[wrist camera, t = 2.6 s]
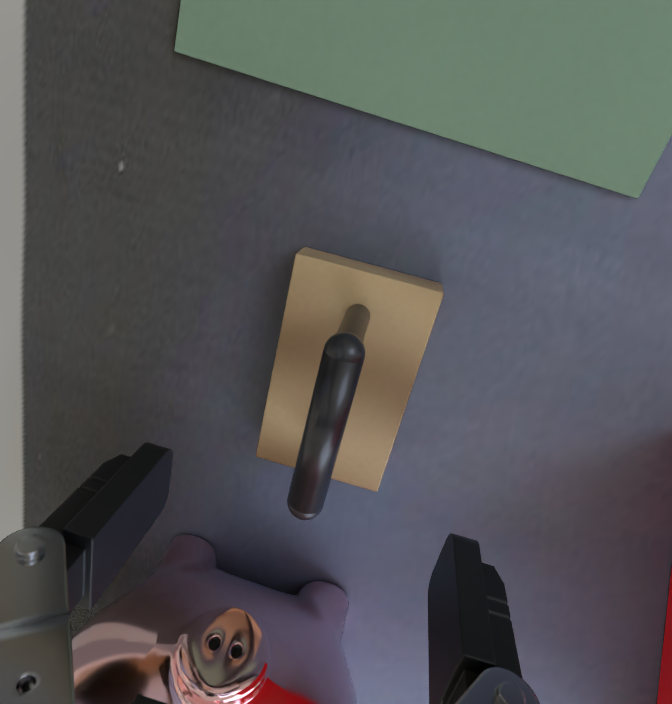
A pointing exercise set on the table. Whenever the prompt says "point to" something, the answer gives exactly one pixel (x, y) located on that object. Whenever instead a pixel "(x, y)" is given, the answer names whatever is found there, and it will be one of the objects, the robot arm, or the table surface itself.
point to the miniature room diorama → (666, 657)
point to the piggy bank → (213, 639)
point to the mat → (470, 71)
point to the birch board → (343, 372)
